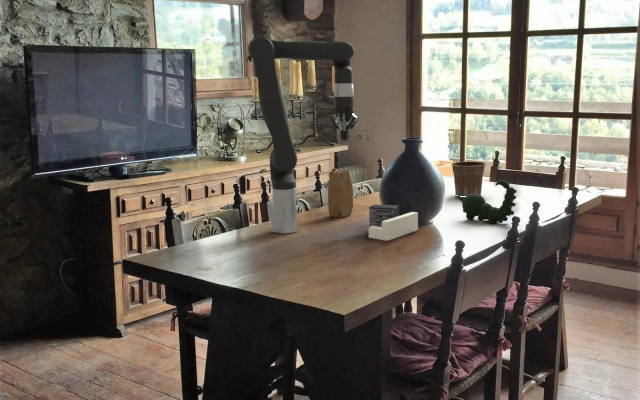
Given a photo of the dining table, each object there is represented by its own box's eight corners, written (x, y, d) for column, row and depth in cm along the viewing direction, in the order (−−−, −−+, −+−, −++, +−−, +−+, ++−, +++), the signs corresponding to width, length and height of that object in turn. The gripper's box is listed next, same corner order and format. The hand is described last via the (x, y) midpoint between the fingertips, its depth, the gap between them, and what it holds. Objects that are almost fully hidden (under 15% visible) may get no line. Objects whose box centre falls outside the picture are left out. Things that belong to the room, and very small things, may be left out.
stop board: (387, 240, 253) (387, 222, 251) (368, 237, 258) (368, 219, 257) (417, 230, 268) (417, 212, 267) (399, 227, 273) (399, 210, 272)
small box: (399, 231, 267) (399, 204, 265) (395, 235, 261) (395, 208, 259) (373, 229, 271) (373, 203, 269) (368, 233, 265) (368, 206, 263)
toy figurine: (516, 227, 277) (461, 214, 293) (521, 181, 272) (466, 170, 288) (504, 231, 270) (450, 218, 286) (510, 184, 265) (454, 173, 281)
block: (340, 219, 291) (339, 172, 287) (326, 216, 296) (325, 170, 292) (355, 214, 299) (355, 169, 295) (342, 212, 304) (341, 167, 300)
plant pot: (451, 199, 329) (451, 165, 326) (450, 193, 345) (450, 161, 342) (485, 199, 327) (486, 165, 324) (483, 193, 342) (484, 161, 339)
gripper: (324, 95, 266) (325, 140, 269) (351, 95, 257) (352, 142, 261) (336, 94, 271) (337, 138, 275) (363, 95, 263) (363, 140, 266)
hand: (344, 140), depth 268 cm, fingers closed
